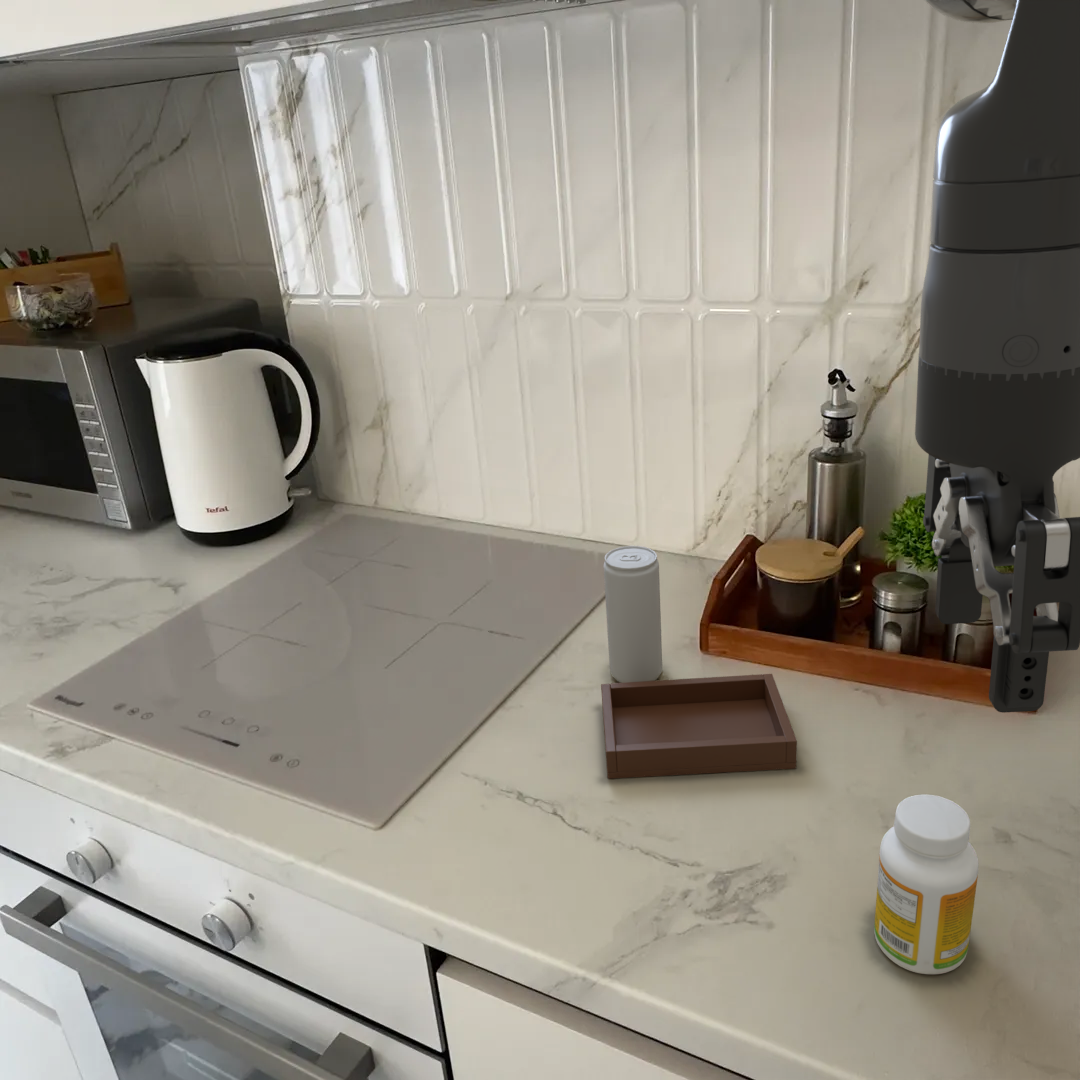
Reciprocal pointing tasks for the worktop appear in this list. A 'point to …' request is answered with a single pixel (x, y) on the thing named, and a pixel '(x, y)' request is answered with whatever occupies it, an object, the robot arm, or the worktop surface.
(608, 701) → the tray
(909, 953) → the supplement bottle
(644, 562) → the beverage can
